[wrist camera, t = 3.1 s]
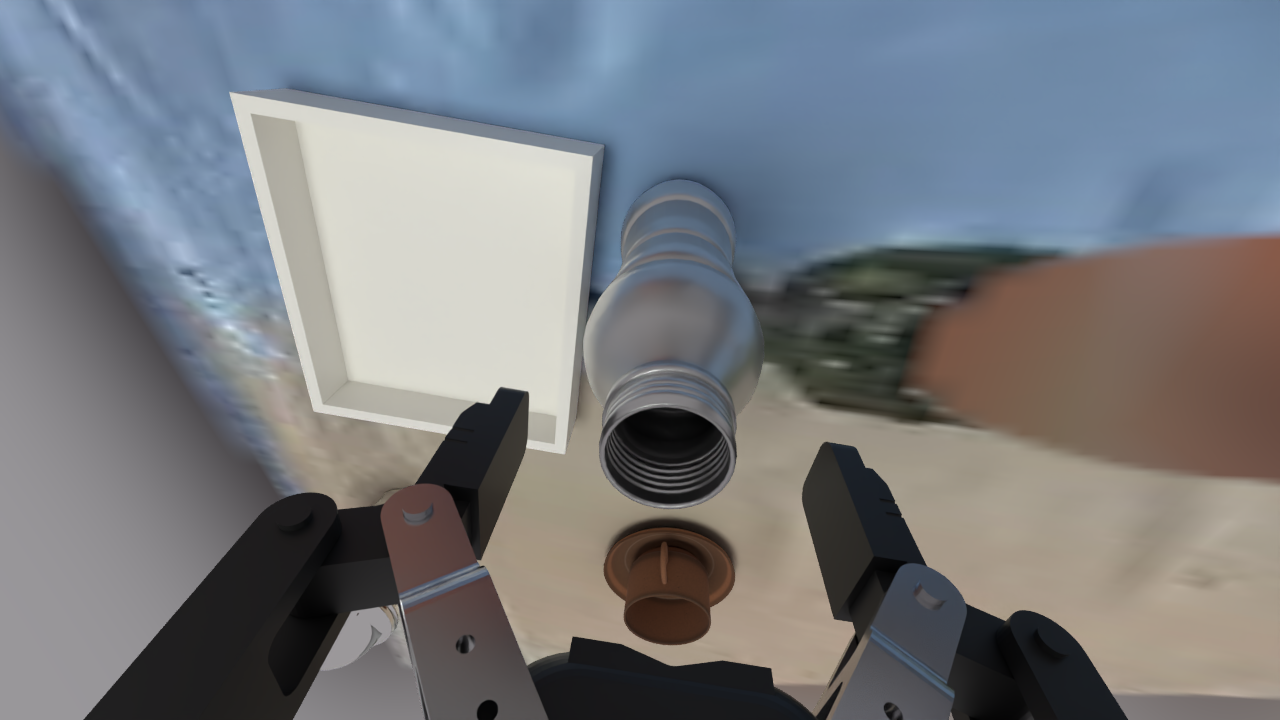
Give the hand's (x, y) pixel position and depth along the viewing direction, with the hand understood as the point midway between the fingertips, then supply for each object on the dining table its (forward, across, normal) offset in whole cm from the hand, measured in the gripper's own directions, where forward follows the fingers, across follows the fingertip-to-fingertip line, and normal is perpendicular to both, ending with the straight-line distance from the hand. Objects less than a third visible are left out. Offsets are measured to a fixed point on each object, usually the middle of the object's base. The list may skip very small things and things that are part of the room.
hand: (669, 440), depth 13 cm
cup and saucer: (+20, -5, +31) cm, 37 cm away
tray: (+19, +14, +6) cm, 25 cm away
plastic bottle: (+19, 0, 0) cm, 19 cm away
